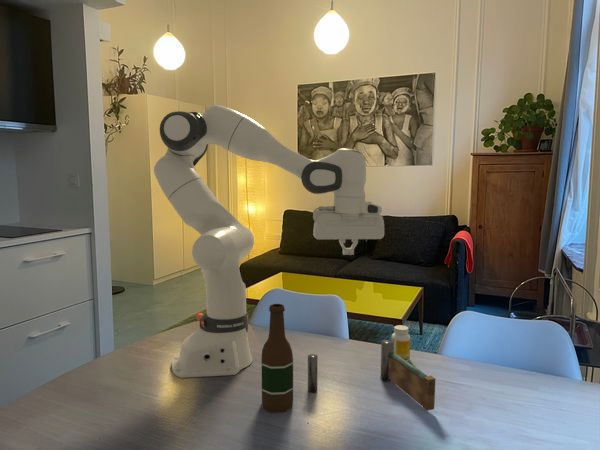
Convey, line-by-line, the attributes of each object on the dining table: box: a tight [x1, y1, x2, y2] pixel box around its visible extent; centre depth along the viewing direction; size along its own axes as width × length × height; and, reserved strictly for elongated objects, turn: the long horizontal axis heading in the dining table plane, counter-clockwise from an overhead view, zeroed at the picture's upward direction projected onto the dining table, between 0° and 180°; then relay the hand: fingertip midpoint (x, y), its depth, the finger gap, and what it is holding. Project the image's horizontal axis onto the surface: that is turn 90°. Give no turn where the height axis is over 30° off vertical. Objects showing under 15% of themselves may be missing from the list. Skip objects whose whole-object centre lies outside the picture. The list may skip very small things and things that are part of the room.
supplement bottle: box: [390, 324, 411, 363], centre depth 133 cm, size 5×5×10 cm
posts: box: [307, 339, 394, 394], centre depth 117 cm, size 24×3×10 cm, turn 108°
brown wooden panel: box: [388, 352, 436, 412], centre depth 110 cm, size 17×2×7 cm, turn 20°
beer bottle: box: [261, 303, 294, 414], centre depth 106 cm, size 8×8×24 cm
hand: (348, 254), depth 131 cm, fingers closed
